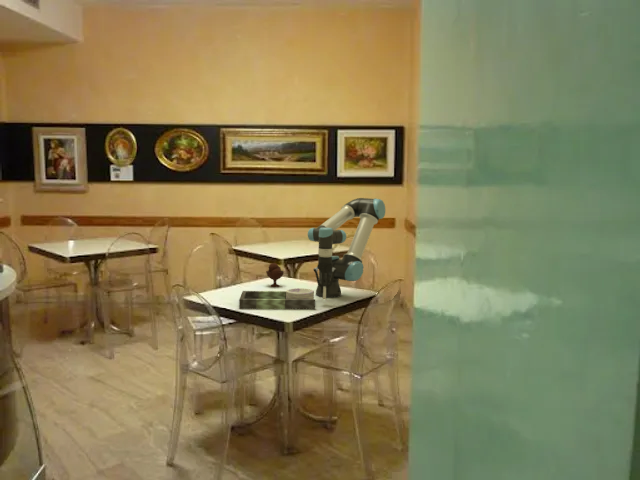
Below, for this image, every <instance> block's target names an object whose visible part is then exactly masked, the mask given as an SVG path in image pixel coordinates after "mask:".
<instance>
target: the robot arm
mask: <svg viewBox="0 0 640 480" xmlns="http://www.w3.org/2000/svg"><path fill="white" fill-rule="evenodd" d="M340 208H341V209H340V210H339V211H337V212H336V213H334V214H333V215H332V216H330V217H329V218H328V219H327V220H326V221H324V222H323V223H322V224H320V225H319V226H317V227H311V228H309V229H308V231H307V238H308V240H309V241H311V242H316V243H318V254H317V255H318V259H317V261H318V263H317V265H316V267H314V268H313V272H314V274H315V277H316V282H317V286H316V288H315V289H316V290H315V296H317V297H321V298H322V299H323V300H326V299H327V298H339V297H341V296H342V290H341V285H340V282H339V281H340V280H342V281H347V282H356V281H358V280H360V279H361V277H362V275H363V273H364V264H363V260H362V257H363V254H364V252H365V250H366V249H365V248H366V246H367V244H368V241H369V239H370V236H371V233H372V231H373V228H374V225H377V224H378V222H379V220H380V219H381V220H382V219H383V218H384V217H385V215H386V206H385V202H384V200H382V199H381V198H369V197H365V198H364V197H358V198H355V199H352V200H349V202H347V203H345V204H344V205H342V206H341V207H340ZM354 218H359V223H358V225H357V228H356V229H355V233H354V235H353V238H352V240H351V243H350V246H348V247H349V248H348V250H347V253H344V254H343V257H342V258H340V256H339V255H333V245H336V244H337V245H338V244H340V245H341V244H343V243H344V242H346V240H347V234H346V232H345V230H343V229H338V228H340V227H341V226H342V225H344V224H345V223H346V222H347V221H349V220H352V219H354ZM338 296H339V297H338Z"/></svg>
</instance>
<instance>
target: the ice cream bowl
mask: <svg viewBox="0 0 640 480" xmlns="http://www.w3.org/2000/svg"><path fill="white" fill-rule="evenodd" d="M284 272H285V271H283V270H282V268H281V267H280V265H278V264H277V263H275V262H271V263H270V264H269V265H268V270H266V273H265V274H266V275H267V277H268V278H270V279H271V280H272V281H273V283H272V284H270V287H271V288H279V287H280V285H279V284H277V281H278V280H279V279H282V277H283V276H284V274H285V273H284Z"/></svg>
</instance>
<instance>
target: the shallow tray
mask: <svg viewBox="0 0 640 480" xmlns="http://www.w3.org/2000/svg"><path fill="white" fill-rule="evenodd" d="M286 291H287V290H280V291H279V290H242V292H241V294H240V296H239V299H238V301H239V302H238V303H239V304H238V305H239V307H238V308H239V309H240V310H316V299H315V298H314V299H286Z"/></svg>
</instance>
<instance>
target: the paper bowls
mask: <svg viewBox="0 0 640 480" xmlns="http://www.w3.org/2000/svg"><path fill="white" fill-rule="evenodd" d="M285 291H286V299H315V290H313V289H311V288H310V289H309V288H289V289H286V290H285Z"/></svg>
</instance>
